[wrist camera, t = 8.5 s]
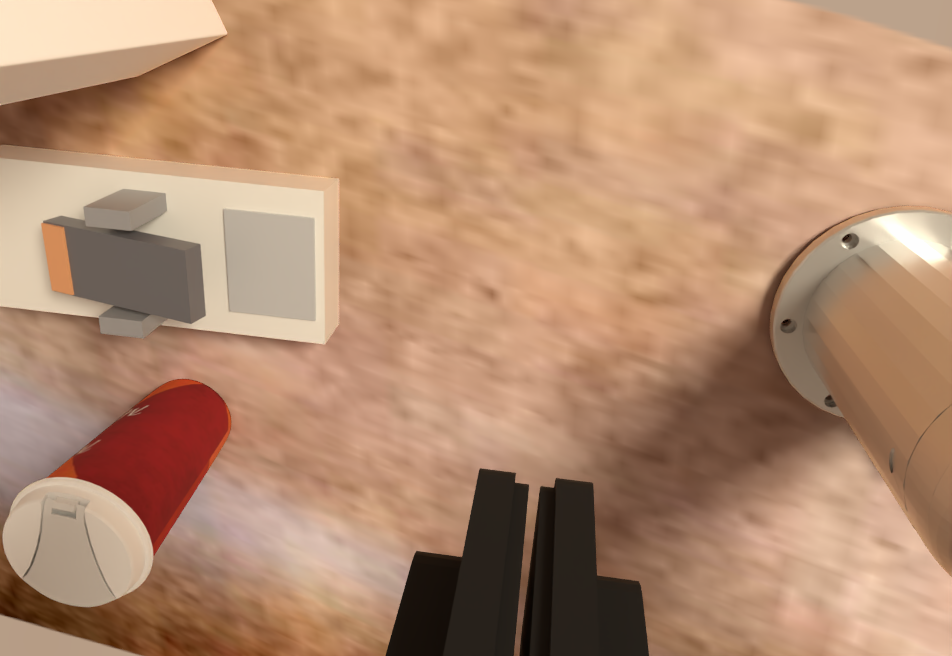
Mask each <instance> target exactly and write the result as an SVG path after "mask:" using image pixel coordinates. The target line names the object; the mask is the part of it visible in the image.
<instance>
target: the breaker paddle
mask: <svg viewBox="0 0 952 656" xmlns="http://www.w3.org/2000/svg"><path fill="white" fill-rule="evenodd" d="M41 227H42V233H43V239H44V245H45V251H46V258H47V264H48V270H49V276H50V282H51V288H52V291H55V292H60V293H64V294H68V295H72V296H76V297H80V298H85V299H89V300H93V301H97V302H101V303H105V304H110V305H114V306H118V307H122V308H126V309H131V310H135V311H139V312H143V313H147V314H151V315H156V316H160V317H164V318H168V319H172V320H177V321H181V322H185V323H189V324H192V323H194V322H196V321H197V320H199V319H201V318H203V317H205V316H206V310H205V297H204V284H203V271H202V258H201V245H200V244H198V243H193V242H188V241H183V240H178V239H174V238H169V237H164V236H159V235H154V234H149V233H144V232H139V231H134V230H132V231H127V230H118V229H109V228H99V227H90V226H86V224H85V220H80V219H76V218H71V217H66V216H58V217H54V218H51V219H48V220H44V221H43V223H41Z"/></svg>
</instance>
